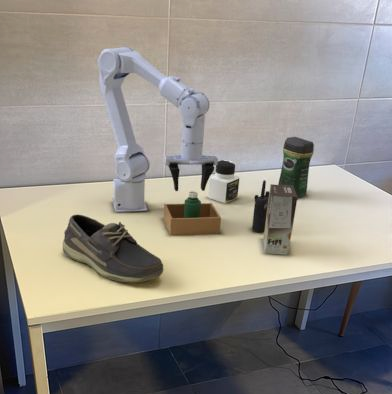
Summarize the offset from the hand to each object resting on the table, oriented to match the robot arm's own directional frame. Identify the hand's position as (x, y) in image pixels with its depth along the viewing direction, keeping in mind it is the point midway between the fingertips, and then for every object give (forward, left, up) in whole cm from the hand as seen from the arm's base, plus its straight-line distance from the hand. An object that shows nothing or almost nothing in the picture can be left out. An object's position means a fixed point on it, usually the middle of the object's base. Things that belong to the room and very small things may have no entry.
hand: (189, 189), depth 152 cm
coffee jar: (+40, +21, -10) cm, 47 cm away
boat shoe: (-25, -26, -10) cm, 37 cm away
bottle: (+1, -3, -9) cm, 10 cm away
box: (0, -3, -10) cm, 10 cm away
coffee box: (+20, -19, -10) cm, 29 cm away
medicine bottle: (+15, +18, -10) cm, 26 cm away
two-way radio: (+19, -7, -10) cm, 23 cm away
